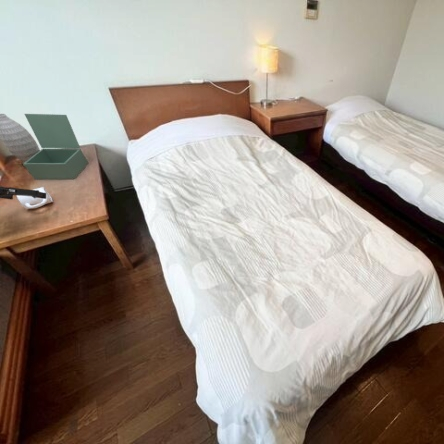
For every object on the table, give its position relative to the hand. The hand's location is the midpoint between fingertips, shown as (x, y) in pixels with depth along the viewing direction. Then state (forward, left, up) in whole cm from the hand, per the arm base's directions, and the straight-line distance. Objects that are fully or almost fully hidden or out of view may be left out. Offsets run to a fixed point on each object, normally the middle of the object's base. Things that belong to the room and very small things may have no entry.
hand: (28, 196), depth 116 cm
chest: (-6, +35, -8) cm, 36 cm away
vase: (-26, +45, -8) cm, 52 cm away
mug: (0, +2, -8) cm, 8 cm away
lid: (-6, +45, +12) cm, 47 cm away
